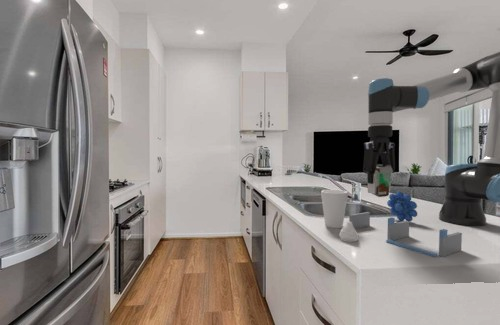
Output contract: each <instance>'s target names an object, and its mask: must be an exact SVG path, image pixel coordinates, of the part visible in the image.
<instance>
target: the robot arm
mask: <svg viewBox="0 0 500 325" xmlns="http://www.w3.org/2000/svg"><path fill="white" fill-rule="evenodd" d="M486 88H488V90H489V91H491V93H492V95H491V103H490V111H489V116H488V117H489V118H488V123H487V131H486V136H485V142H484V143H485V144H484V152H483V157H481V159H479V160H478V161H477V162H476V163H459V164H449V165H447V166H446V168H445V174H444V201H443V203H442V205H441V208H440V211H439V212H438V219H439V220H441V221H443V222H447V223H451V224H456V225H462V226H473V227H474V226H476V227H477V226H486V224H487V217H486V215H485V211H484V209H483V207H482V200H485V201H490V202H493V203H498V204H499V203H500V51H498V52H496V53H493V54H491V55H487V56H485V57H482V58H480V59H477V60H476V61H474V62H472V63H470V64H467V65H465V66H463V67H459V68H456V69H455V70H454V71H453V72H452V73H448V74H446V75H443V76H439V77H435V78H433V79H430V80H427V81H424V82H423V81H422V82H419V83H417V84H414V85H394V80H393V79H392V78H389V77H385V78H382V77H381V78H377V79H373V80H371V81H370V82H369V84H368V92H367V95H368V99H367V100H368V106H367V107H368V128H367V137H368V138H370V141H369V142H364V143H363V148H364V152H363V153H364V154H363V163H362V164H363V165H362V172H363V173H364V174H366V175H367V174H368V182H367V193H368V194H372V193H373V194H372V195H374V194H376V182H377V174H375V170H376V166H377V164H378V161H379V157H380V160H381V164H382V165H383V167H385V166H387V165H391V167H392V170H393V172H392V173H391V174H394V173H395V171H396V155H395V153H396V152H395V147H396V143H395V142H391V141H390V138H391V137H392V136H393V126H392V124H394V122H393V113H396V112H399V111H404V110H405V111H406V110H408V109H413V110H416V109H423V108H425V107H426V106H427V104H428V103H429V101H433V100H436V99H438V98H442V97H445V96H449V95H451V94H454V93H466V92H469V91H474V90H479V89H480V90H481V89H486ZM391 181H392V175H391V176H390V186H389V193H390V192H391V185H392V184H391Z"/></svg>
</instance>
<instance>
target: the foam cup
mask: <svg viewBox="0 0 500 325" xmlns="http://www.w3.org/2000/svg"><path fill="white" fill-rule="evenodd" d="M348 193H349V192H348V191H347V190H341V189H323V190H321V196H320V197H321V202H322V211H323V212H322V213H323V218H324V219H323V220H324V226H325V227H328V228H332V229H340V228H341V229H342V228H343V227H342V226H344V220H345V216H346V215H345V213H346V206H347V200H348V195H349V194H348Z"/></svg>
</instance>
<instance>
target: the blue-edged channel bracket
mask: <svg viewBox="0 0 500 325" xmlns="http://www.w3.org/2000/svg"><path fill="white" fill-rule="evenodd" d="M370 220H371V212H370V211H365V212H360V213H353V214H349V220H348V221H350V222H352V224H353V227H354V229H355V230H356V229H360V228H364V227H370V223H371V222H370ZM438 236H439V237H438V238H439V240H438V253H436V252H433V251H430V250H426V249H423V248H420V247H417V246H413V245H409V244H407V243H403V242H399V241H398V240H400V239H404V238H408V237H410V222H409V221H406V220H403V221H399V222H398V221H397V222H396V219H395V217H387V237H386V240H385V241H386V243H389V244H391V245H395V246H398V247H401V248H402V247H403V248H405V249H408V250H411V251H414V252H417V253H421V254H424V255H427V256H431V257H434V258H437V257H442V258H443V257H446V256H449V255H452V254H455V253H458V252H461V251H462V243H463V242H462V241H463V240H462V239H463V237H462V236H463V233H462V232H459V231H456V232H452V233H450V234H448V229H445V228H442V229H441V228H440V229H439V235H438ZM396 240H397V241H396Z"/></svg>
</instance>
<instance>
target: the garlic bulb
mask: <svg viewBox="0 0 500 325" xmlns="http://www.w3.org/2000/svg"><path fill="white" fill-rule="evenodd" d="M358 236H359V235H358V233H357V231H356V228H355V229H354V227H353V224H352V222H350V221H349V220H347V221H346V223H345V224H343V227H341V230H339V238H340V240H341V241H343V242H346V241H348V243H354V242H357V241H358V240H359V237H358Z"/></svg>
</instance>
